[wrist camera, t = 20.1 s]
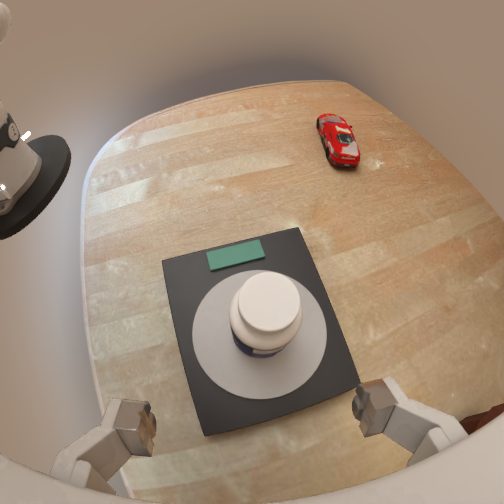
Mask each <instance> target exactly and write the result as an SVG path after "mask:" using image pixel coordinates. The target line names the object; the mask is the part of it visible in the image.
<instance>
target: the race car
mask: <svg viewBox="0 0 504 504" xmlns="http://www.w3.org/2000/svg"><path fill="white" fill-rule="evenodd" d="M351 128H352V126H349V125H347V123H346V121H345V120H344V119H343V118H341V117H340V116H337V115H334V114H323V115H320V116H319V117H318V118H317V129H319V132H320V135H321V138H322V141H323V145H324V148H325V150H326V157H327V158H329V161H330V162H331V163H332V164H334V165H336V166H338V167H352V168H353V167H354V168H355V167H357V166H358V163H359V161H360V152H359V149H358V146H357V143H356V140H355V138H354V135H353V133H352V130H351Z"/></svg>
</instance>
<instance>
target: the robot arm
mask: <svg viewBox="0 0 504 504" xmlns="http://www.w3.org/2000/svg"><path fill="white" fill-rule="evenodd" d="M10 27H11V13H10V10H9V8H8V7H7V6H6V5H5V4H3V3H1V2H0V44H1V43H2V42H3V41H4V40H5V39H6V38H7V36H8V33H9V30H10ZM30 135H31V134H30V132H27V133H26V134H25V135H24V136H23V137H21V136H20V134H19V131H18V129H17V126H16V124H15V123H14V121H13V119H12V117H11V116H10V114H9V113H7V112H6V111H5V109H4V107H3V105H2V102H1V100H0V216H1V215H5V214H7V213H9V212H10V211H11V209H12V208H13V206H14V205H15V203H16V202H17V200H18V199H19V198H20V197H21V196H22V195H23V194H24V193H25V192H26V191H27V190H28V188H29V187H30V186H31V185H32V183H33V182H34V180H35V179H36V177H37V175H38V173H39V171H40V169H41V165H42V159H41V157H40V156H39V155H38V154H36V153H35V152H34V151H33V150H32V149H31V148H30V147H29V146H28V145H27V144H26V143H25V141H24V139H26V138H27V137H28V136H30ZM355 391H356V393H357V395H356V396H355V397H354V398H353V401H352V411H353V414H354V417H355V419H357V420H359V421H361V422H360V425H359V427H360V429H361V431H362V433H363V435H364V437H369V436H372V435H376V434H380V433H383V434H384V435H386V436H387V437H389V438H390V439H392V440H393V441H395V442H396V443H398V444H399V445H401V446H402V447H404V448H405V449H407V450H409V451H410V452H412V453H413V455H412V456H411V458H410V459H409V461H408V462H407V466H408V467H406V468H404V469H401V470H399V471H396V472H393V473H391V474H388V475H385V476H383V477H380V478H377V479H374V480H371V481H368V482H365V483H362V484H358V485H355V486H352V487H348V488H344V489H341V490H337V491H333V492H328V493H324V494H319V495H315V496H310V497H304V498H299V499H292V500H286V501H278V502H270V503H260V504H504V412H503V413H502V414H500V415H499V416H498V417H496V418H495V419H493V420H492V421H490V422H489V423H487V424H486V425H485V426H483V427H481V428H480V429H478V430H477V431H475V432H474V433H472V434H470V435H468V434H467V433H466V431H465V430H464V429H463V427H462V426H461V425H460V423H459V422H458V421H457V419H456V418H455V417H453V416H451V415H448V414H446V413H444V412H441V411H439V410H436V409H434V408H432V407H429V406H427V405H425V404H422V403H420V402H418V401H415V400H413V399H411V400H409V399H408V397H407V396H406V394H405V393H404V392H403V390H402V389H401V387H400V386H399V385H398V383H397V382H396V380H395V379H394V378H393V377H392V376H388V377H385V378H381V379H377V380H373V381H369V382H365V383H361V384H358V385H357V387H356V390H355ZM150 409H151V407H150V404H149V402H147V401H138V400H128V399H119V398H112V399H111V400H110V401H109V404H108V406H107V409H106V411H105V414H104V417H103V419H102V422H101V424H100V426H96V427H95V428H93V429H92V430H90V431H89V432H87V433H86V434H85V435H83V436H82V437H80V438H79V439H77V440H76V441H75V442H73V443H72V444H70V445H69V446H67V447H66V448H64V449H63V450H61V451H60V452H59V453H58V454H57V457H56V459H55V462H54V464H53V467H52V469H51V471H50V474H49V475H46V474H44V473H41V472H39V471H36V470H34V469H32V468H29V467H27V466H25V465H23V464H21V463H19V462H16V461H14V460H12V459H10V458H8V457H6V456H4V455H3V454H1V453H0V504H171V503H161V502H153V501H146V500H139V499H133V498H128V497H122V496H117V495H116V492H115V490H114V489H113V488H112V487H111V486H110V485H109V484H108V483H107V481H108V480H109V479H110V478H111V477H112V476H113V475H114V474H115V473H116V472H117V471H118V470H119V469H120V468H121V467H122V466H123V465H124V464H125V463H126V462H127V460H128V459H129V458H130V457H131V455H136V456H147V457H152V451H153V446H154V444H153V441H152V438H153V437H155V435H156V420H155V416H154V414H152V413H151V412H150Z"/></svg>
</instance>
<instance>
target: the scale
mask: <svg viewBox="0 0 504 504" xmlns="http://www.w3.org/2000/svg"><path fill="white" fill-rule="evenodd" d="M162 265H163V271H164V277H165V283H166V288H167V293H168V299H169V304H170V309H171V313H172V318H173V323H174V327H175V332H176V336H177V341H178V345H179V349H180V353H181V357H182V361H183V365H184V369H185V373H186V377H187V380H188V384H189V388H190V391H191V395H192V398H193V402H194V405H195V409H196V412H197V415H198V418H199V422H200V425H201V428H202V431H203V434H204V436H210V435H214V434H219V433H223V432H228V431H232V430H236V429H240V428H244V427H247V426H251V425H255V424H258V423H262V422H265V421H268V420H272V419H275V418H278V417H281V416H284V415H287V414H290V413H293V412H296V411H299V410H301V409H304V408H307V407H310V406H312V405H315V404H318V403H320V402H323V401H325V400H328V399H330V398H332V397H335V396H337V395H340V394H342V393H344V392H347V391H349V390H351V389H353V388H355V387H357V385H358V384H361V382H360V379H359V376H358V373H357V371H356V368H355V365H354V362H353V360H352V357H351V354H350V352H349V349H348V346H347V344H346V341H345V338H344V336H343V333H342V330H341V328H340V325H339V323H338V320H337V318H336V315H335V313H334V310H333V308H332V305H331V303H330V300H329V298H328V295H327V293H326V290H325V288H324V285H323V283H322V281H321V278H320V276H319V273H318V271H317V269H316V266H315V264H314V262H313V259H312V257H311V255H310V252H309V250H308V248H307V246H306V243H305V241H304V239H303V237H302V234H301V232H300V230H299V228H298V227H296V228H292V229H288V230H283V231H279V232H275V233H271V234H267V235H263V236H258V237H254V238H250V239H246V240H242V241H238V242H234V243H230V244H226V245H222V246H218V247H214V248H210V249H206V250H202V251H198V252H194V253H190V254H186V255H182V256H178V257H174V258H170V259H166V260H162ZM263 272H274V273H279V274H281V275H283V276H285V277H287V278H288V279H290V280H291V281H292V282H293V283H294V285H295V286H296V288H297V290H298V292H299V295H300V302H301V305H302V311H303V318H302V323H301V326H300V329H299V331H298V332H297V334H296V336H295V337H294V338H293V339H292V340H291V341H290V342H289V343H288V345H287V346H286V347H285V348H284V349H283V350H282V351H281V352H279V353H278V354H276V355H275V356H272V357H270V358H265V359H256V358H252V357H249V356H247V355H245V354H244V353H243V352H241V351H240V350H239V348H238V347H237V346H236V344H235V342H234V340H233V337H232V332H231V326H230V321H229V307H230V303H231V301H232V298H233V297H234V295H235V293H236V292H237V291H238V290H239V289H240V288H241V287H242V286H243V284H244V283H245V282H246V281H247V280H248V279H249V278H251V277H252V276H254V275H256V274H259V273H263Z"/></svg>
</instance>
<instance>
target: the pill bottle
mask: <svg viewBox="0 0 504 504" xmlns="http://www.w3.org/2000/svg"><path fill="white" fill-rule="evenodd" d="M302 318H303V311H302V305H301V302H300V295H299V292H298V290H297V288H296V286H295V285H294V283H293V282H292V281H291V280H290V279H288V278H287V277H285V276H283V275H281V274H279V273H274V272H263V273H259V274H256V275H254V276H252V277H251V278H249V279H248V280H247V281H246V282H245V283H244V284H243V286H242V287H241V288H240V289H239V290H238V291H237V292H236V293H235V295H234V297H233V298H232V301H231V303H230V307H229V321H230V326H231V332H232V337H233V340H234V342H235V344H236V346H237V347H238V348H239V350H240V351H241V352H243V353H244V354H245V355H247V356H249V357H252V358H256V359H265V358H270V357H272V356H275V355H276V354H278V353H279V352H281V351H282V350H283V349H284V348H285V347H286V346H287V345H288V343H289V342H290V341H291V340H292V339H293V338H294V337H295V336H296V334H297V332H298V331H299V329H300V326H301V323H302Z"/></svg>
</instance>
